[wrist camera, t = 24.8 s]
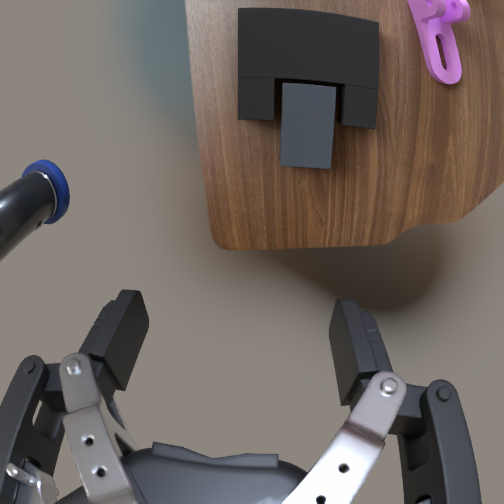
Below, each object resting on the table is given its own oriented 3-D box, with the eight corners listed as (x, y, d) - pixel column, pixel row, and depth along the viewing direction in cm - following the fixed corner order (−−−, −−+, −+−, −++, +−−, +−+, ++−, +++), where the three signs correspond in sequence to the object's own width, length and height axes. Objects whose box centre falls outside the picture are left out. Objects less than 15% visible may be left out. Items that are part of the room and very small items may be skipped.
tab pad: (279, 160, 35) (280, 166, 32) (281, 83, 29) (282, 82, 27) (325, 163, 34) (330, 169, 32) (330, 87, 29) (336, 87, 26)
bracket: (406, -2, 20) (431, -14, 14) (438, 2, 19) (464, -6, 13) (429, 83, 27) (458, 85, 21) (459, 84, 26) (489, 88, 20)
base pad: (240, 117, 32) (238, 119, 29) (240, 14, 24) (238, 7, 22) (366, 126, 31) (374, 129, 29) (370, 26, 24) (378, 22, 21)
